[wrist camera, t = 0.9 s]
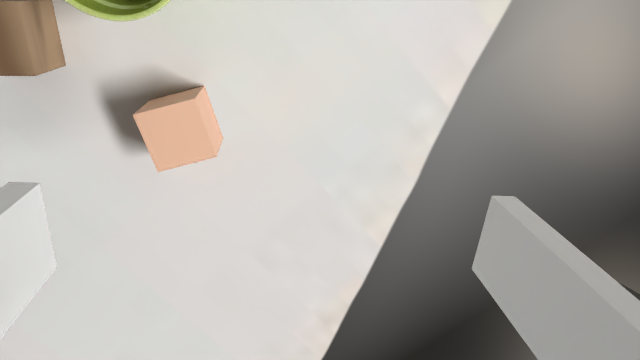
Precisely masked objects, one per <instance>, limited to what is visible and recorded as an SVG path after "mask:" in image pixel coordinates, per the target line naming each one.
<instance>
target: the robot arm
mask: <svg viewBox="0 0 640 360" xmlns="http://www.w3.org/2000/svg"><path fill="white" fill-rule="evenodd" d="M56 268H57V264H56V259H55V254H54V249H53V245H52V240H51V235H50V230H49V225H48V221H47V216H46V211H45V206H44V201H43V196H42V192H41V187H40V183H21V182H9V183H7V184H6V185H4V186H3V187H2V188H0V339H1V338H2V337H3V335H4V334H5V333H6V332H7V330H8V329H9V328H10V327H11V325H12V324H13V323H14V321H15V320H16V319H17V318H18V316H19V315H20V314H21V312H22V311H23V310H24V309H25V307H26V306H27V305H28V304H29V302H30V301H31V300H32V298H33V297H34V296H35V295H36V293H37V292H38V291H39V290H40V288H41V287H42V286H43V284H44V283H45V282H46V281H47V279H48V278H49V277H50V276H51V274H52V273H53V272H54V270H55V269H56ZM472 269H473V271H474V272H475V274H476V275H477V276H478V278H479V279H480V280H481V282H482V283H483V285H484V286H485V287H486V289H487V290H488V291H489V293H490V294H491V296H492V297H493V298H494V300H495V301H496V302H497V304H498V305H499V307H500V308H501V309H502V311H503V312H504V313H505V315H506V316H507V318H508V319H509V320H510V321H511V323H512V324H513V326H514V327H515V329H516V330H517V331H518V333H519V334H520V335H521V337H522V338H523V340H524V341H525V342H526V344H527V345H528V346H529V348H530V349H531V351H532V352H533V353H534V355H535V356H536V357H537V359H538V360H640V294H638V293H636V292H635V291H633V290H631V289H629V288H628V287H626V286H624V285H622V284H620V283H619V282H617V281H615V280H614V279H613V278H612V277H611V276H609V275H608V274H607V273H606V272H605V271H603V270H602V269H601V268H600V267H599V266H597V265H596V264H595V263H594V262H593V261H591V260H590V259H589V258H588V257H587V256H585V255H584V254H583V253H582V252H581V251H579V250H578V249H577V248H576V247H575V246H573V245H572V244H571V243H570V242H569V241H567V240H566V239H565V238H564V237H563V236H561V235H560V234H559V233H558V232H557V231H556V230H554V229H553V228H552V227H551V226H550V225H548V224H547V223H546V222H545V221H543V220H542V219H541V218H540V217H539V216H537V215H536V214H535V213H534V212H533V211H532V210H530V209H529V208H528V207H527V206H526V205H524V204H523V203H522V202H521V201H520V200H518V199H517V198H516V197H515V196H492V197H491V201H490V205H489V208H488V212H487V215H486V219H485V223H484V226H483V230H482V234H481V237H480V241H479V244H478V248H477V252H476V255H475V259H474V263H473V266H472Z"/></svg>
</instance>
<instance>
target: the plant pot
mask: <svg viewBox="0 0 640 360" xmlns="http://www.w3.org/2000/svg"><path fill="white" fill-rule="evenodd" d="M64 1H66V2H67V3H69V4H70V5H72V6H73V7H75V8H77V9H78V10H80V11H82V12H84V13H87V14H89V15H92V16H94V17H98V18H101V19H106V20H112V21H132V20H137V19H141V18H144V17H147V16H149V15H151V14H153V13H155V12H157V11H158V10H160V9H161V8H163V7H164V6H165V5H166V4H167V3H168V2H169V1H170V0H64Z"/></svg>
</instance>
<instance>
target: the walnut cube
mask: <svg viewBox="0 0 640 360" xmlns="http://www.w3.org/2000/svg"><path fill="white" fill-rule="evenodd" d="M65 65H66V64H65V59H64V54H63V50H62V45H61V40H60V36H59V31H58V27H57V22H56V17H55V13H54V8H53V3H52V0H0V76H36V75H39V74H42V73H45V72H48V71H51V70H54V69H57V68H60V67H63V66H65Z"/></svg>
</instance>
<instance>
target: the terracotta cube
mask: <svg viewBox="0 0 640 360" xmlns="http://www.w3.org/2000/svg"><path fill="white" fill-rule="evenodd" d="M133 117H134V119H135V122H136V124H137V126H138V128H139V131H140V133H141V135H142V137H143V140H144V142H145V144H146V146H147V148H148V151H149V153H150V155H151V157H152V160H153V162H154V164H155V166H156V169H157V171H158V172H160V171H164V170H168V169H172V168H176V167H179V166H183V165H187V164H191V163H195V162H198V161H202V160H206V159H210V158H214V157H217V154H218V151H219V148H220V145H221V143H222V140H223V136H222V133H221V131H220V128H219V125H218V122H217V119H216V117H215V114H214V111H213V108H212V105H211V103H210V100H209V97H208V94H207V91H206V89H205V86H202V87H198V88H194V89H190V90H186V91H183V92H179V93H175V94H171V95H167V96H163V97H160V98H156V99H152V100H149V101H148V102H147V103H146V104H145V105H143V106H142V107H141V108H140V109H139V110H138V111H136V112H135V113H134V114H133Z"/></svg>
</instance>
